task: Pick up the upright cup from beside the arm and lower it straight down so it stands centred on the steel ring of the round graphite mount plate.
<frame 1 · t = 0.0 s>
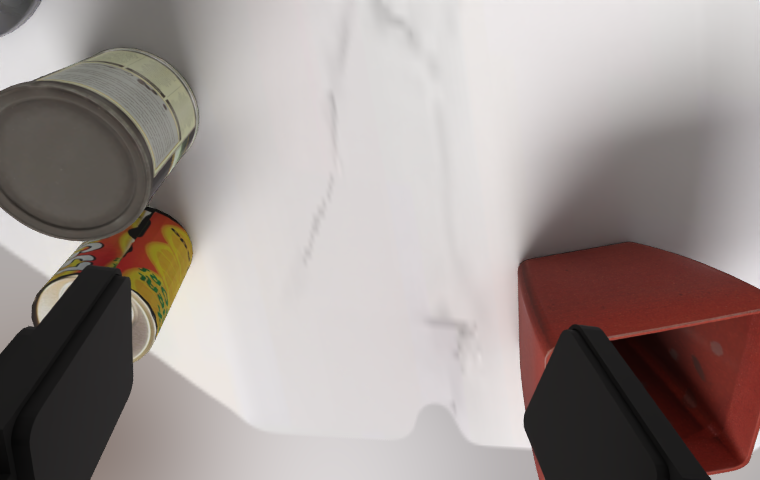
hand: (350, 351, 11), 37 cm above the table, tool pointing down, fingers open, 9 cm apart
coffee can: (138, 109, 44), on the table
yellow tin can: (145, 246, 50), on the table
plant pot: (574, 298, 58), on the table
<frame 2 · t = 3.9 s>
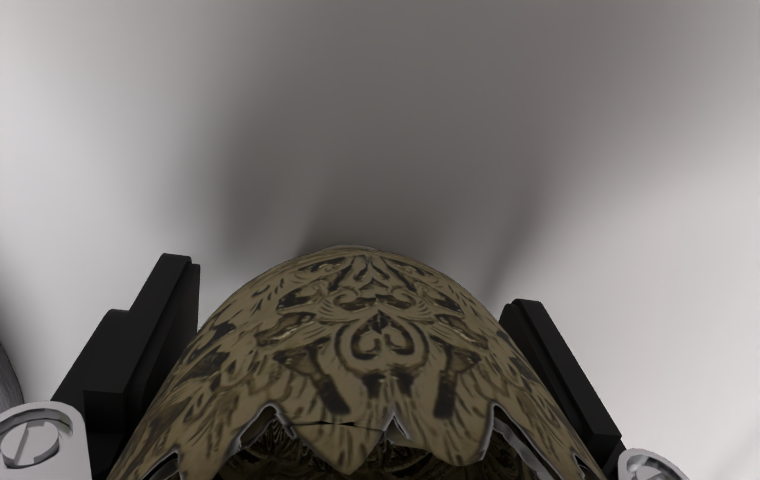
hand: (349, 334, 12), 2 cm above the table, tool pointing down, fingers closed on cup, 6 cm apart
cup: (347, 291, 13), on the table, touching gripper
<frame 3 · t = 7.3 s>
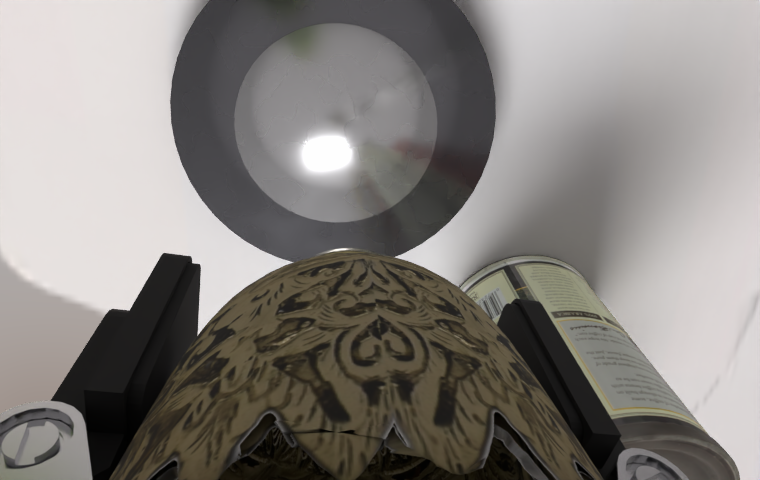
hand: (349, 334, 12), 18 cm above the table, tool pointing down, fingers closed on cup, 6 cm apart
coffee can: (517, 318, 35), on the table
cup: (347, 294, 13), point 16 cm above the table, touching gripper
mount plate: (337, 122, 27), on the table
when the fingers open (5 cm above the table, at t = 10.6 s): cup drops 1 cm, resting on mount plate.
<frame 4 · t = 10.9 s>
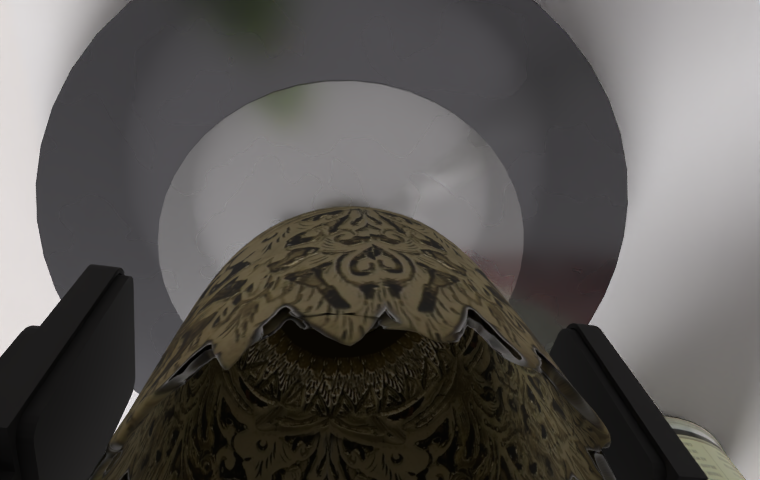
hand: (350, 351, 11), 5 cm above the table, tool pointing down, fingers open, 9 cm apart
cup: (344, 257, 14), point 2 cm above the table, touching mount plate
mount plate: (345, 237, 16), on the table
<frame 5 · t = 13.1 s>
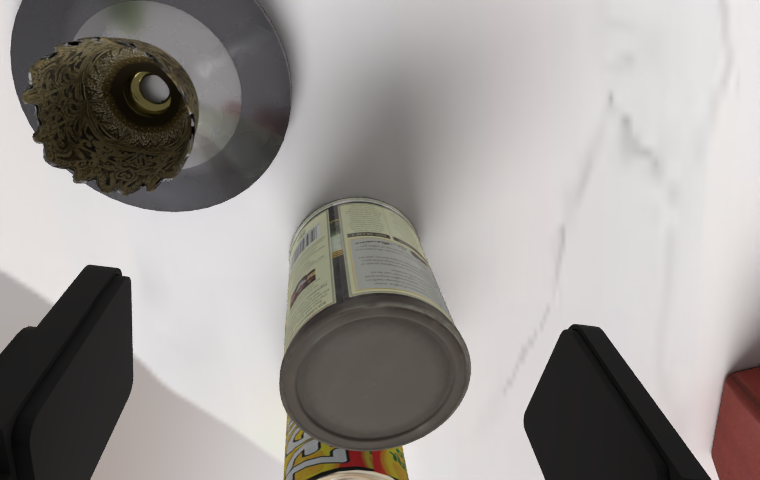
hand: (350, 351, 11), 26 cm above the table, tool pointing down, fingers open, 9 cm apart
coffee can: (356, 256, 40), on the table
yellow tin can: (339, 389, 46), on the table
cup: (156, 88, 31), point 2 cm above the table, touching mount plate
mount plate: (163, 86, 33), on the table
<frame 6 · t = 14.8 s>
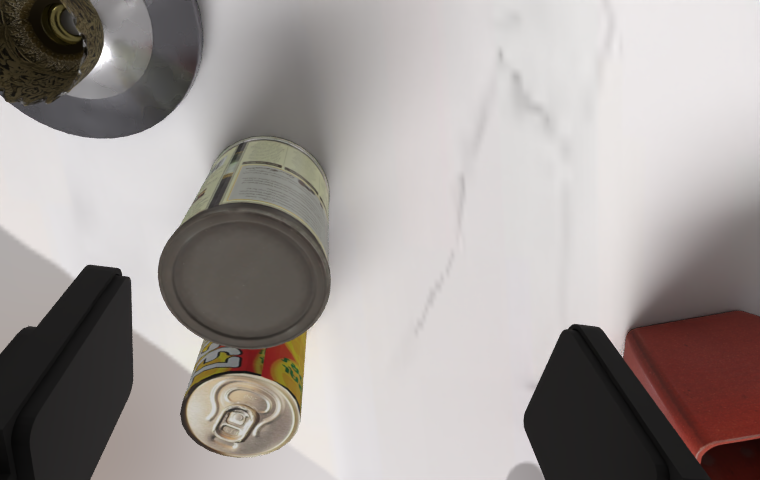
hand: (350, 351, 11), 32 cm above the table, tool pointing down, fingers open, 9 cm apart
coffee can: (270, 192, 44), on the table
yellow tin can: (260, 320, 50), on the table
plant pot: (676, 362, 57), on the table
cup: (75, 21, 35), point 2 cm above the table, touching mount plate
mount plate: (85, 22, 37), on the table
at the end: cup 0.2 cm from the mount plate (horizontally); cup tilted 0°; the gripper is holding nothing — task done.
